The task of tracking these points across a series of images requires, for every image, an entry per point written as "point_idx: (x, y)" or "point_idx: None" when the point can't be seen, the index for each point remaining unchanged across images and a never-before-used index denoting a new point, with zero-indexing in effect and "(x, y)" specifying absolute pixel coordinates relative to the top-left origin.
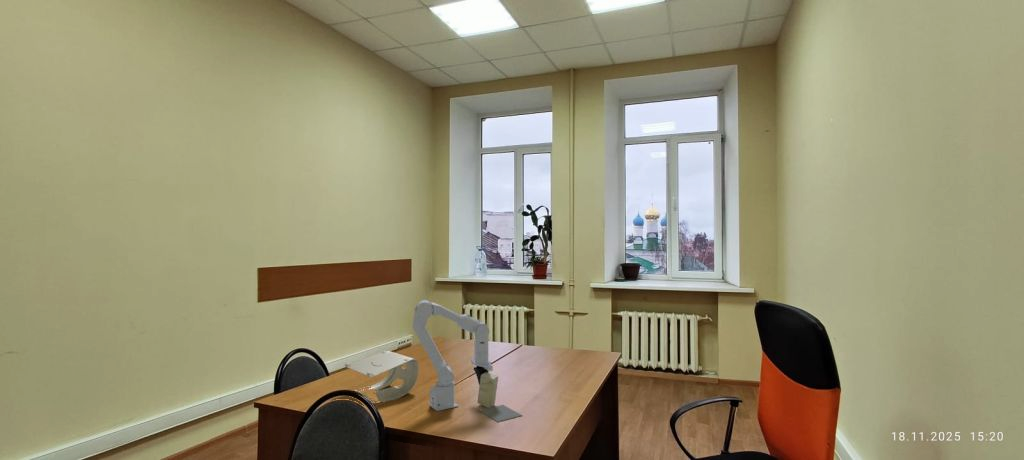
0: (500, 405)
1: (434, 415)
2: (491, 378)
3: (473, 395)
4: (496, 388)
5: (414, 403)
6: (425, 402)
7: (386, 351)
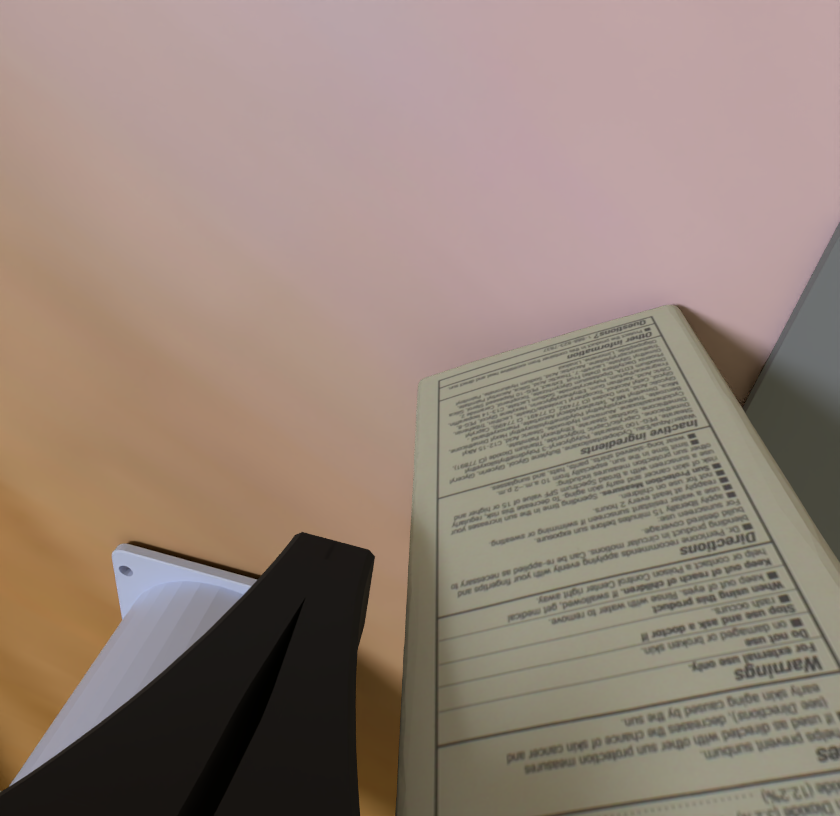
0: (825, 282)
1: (389, 790)
2: None
3: (31, 203)
4: (819, 540)
5: (26, 696)
6: (40, 651)
7: None
